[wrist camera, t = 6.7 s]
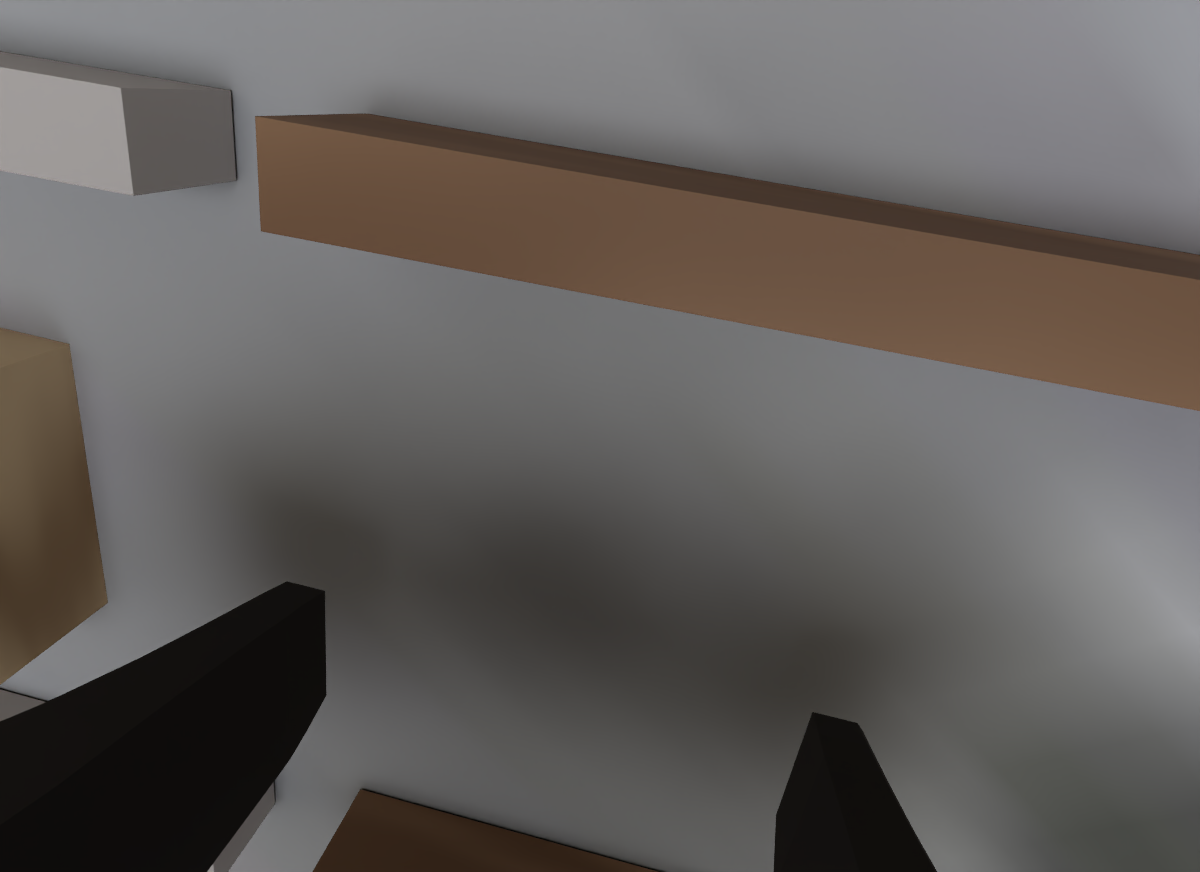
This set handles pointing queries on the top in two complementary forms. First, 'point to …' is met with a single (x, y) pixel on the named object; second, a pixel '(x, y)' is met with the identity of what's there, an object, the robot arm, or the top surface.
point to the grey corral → (116, 179)
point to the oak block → (43, 503)
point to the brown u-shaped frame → (715, 307)
